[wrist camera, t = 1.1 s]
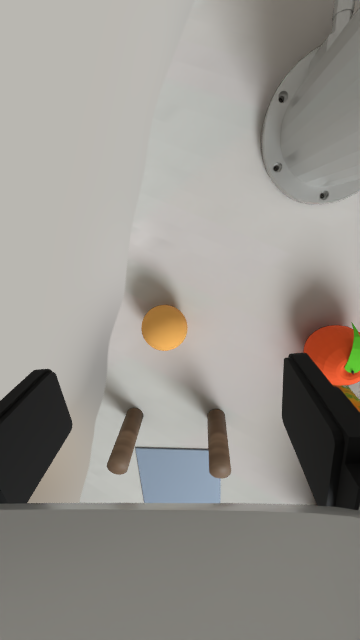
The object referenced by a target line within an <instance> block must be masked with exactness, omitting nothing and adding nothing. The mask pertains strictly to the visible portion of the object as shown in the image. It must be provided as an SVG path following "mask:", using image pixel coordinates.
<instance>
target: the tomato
mask: <svg viewBox="0 0 360 640" xmlns="http://www.w3.org/2000/svg"><path fill="white" fill-rule="evenodd" d="M351 323H352V322H351ZM352 326H353V329H351V328H349V327H346V326H340V325H333V326H326V327H323V328H320V329H319V330H317V331H315V332H314V333H313V334H312V335H310V337H309V338H308V339H307V341H306V343H305V346H304V353H307V354H308V355H309V357H310V358H311V359H312V360H313V362H314V363H315V364H316V365H317V366H318V368H319V369H320V370H321V371H322V373H323V374H324V375H325V376H326V378H327V379H328V380H329V381H330V383H331V384H332V385H337V386H342V385H351V384H355V383H357V382H359V381H360V332H358V331H357V329H356V328H355V326H354V325H353V323H352Z"/></svg>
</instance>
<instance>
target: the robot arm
mask: <svg viewBox="0 0 360 640" xmlns="http://www.w3.org/2000/svg"><path fill="white" fill-rule="evenodd" d="M354 3H355V0H335V2H334V10H333V18H332V20H333V25H332V33H331V34H330V35H329V36H328V37H327V39H326V40H325V42H324V43H323V44H322V46H321V47H319V48H317V49H315V50H313V51H312V52H310V53H309V54H308V55H306V56H305V57H304V58H303V59H301V60H300V61H299V62H298V63H297V64H296V65H295V66H294V67H293V68H292V69H291V71H290V72H289V73H288V74H287V75H286V77H285V78H284V80H283V81H282V83H281V84H280V86H279V87H278V89H277V90H276V92H275V94H274V96H273V98H272V100H271V102H270V105H269V107H268V110H267V113H266V115H265V120H264V124H263V129H262V142H261V146H262V155H263V161H264V164H265V167H266V171H267V173H268V175H269V177H270V178H271V180H272V182H273V183H274V184H275V186H276V187H277V188H278V189H279V190H280V191H281V192H282V193H284V194H285V195H286V196H288V197H289V198H291V199H293V200H296V201H298V202H301V203H306V204H327V203H333V202H337V201H340V200H343V199H346V198H348V197H350V196H352V195H354V194H356V193H358V192H359V191H360V8H359V9H358V10H357V12H356V13H355V14H354V16H353V17H352V13H353V10H354ZM351 17H352V18H351ZM279 98H282V99H283V103H280V102H279V101H278V99H279ZM274 166H277V167H278V170H277V171H274V170H273V168H274ZM321 193H322V194H323V197H322V198H320V194H321ZM282 419H283V423H284V426H285V428H286V430H287V433H288V435H289V438H290V440H291V443H292V445H293V447H294V450H295V452H296V455H297V457H298V459H299V462H300V464H301V467H302V469H303V472H304V474H305V476H306V479H307V481H308V484H309V486H310V488H311V491H312V493H313V496H314V498H315V501H316V503H317V505H318V506H314V505H293V504H249V503H31V504H30V503H27V502H28V500H29V499H30V497H31V495H32V494H33V492H34V491H35V489H36V487H37V486H38V484H39V482H40V481H41V479H42V477H43V476H44V474H45V473H46V471H47V469H48V467H49V466H50V464H51V463H52V461H53V459H54V458H55V456H56V454H57V453H58V451H59V450H60V448H61V446H62V445H63V443H64V441H65V439H66V438H67V436H68V435H69V433H70V431H71V429H72V420H71V417H70V414H69V411H68V409H67V406H66V403H65V400H64V397H63V394H62V391H61V388H60V385H59V382H58V380H57V376H56V374H55V373H54V372H52V371H51V370H50V369H41V370H34V371H33V372H31V373H30V374H29V375H28V376H27V377H26V378H25V379H24V380H23V381H22V382H21V383H20V384H18V385H17V386H16V387H15V388H14V389H13V390H12V391H11V392H10V393H8V394H7V395H6V396H5V397H4V398H3V399H2V400H1V401H0V640H360V412H359V411H358V410H357V408H356V407H355V406H354V405H353V404H352V402H351V401H350V400H349V399H348V398H347V396H346V395H345V394H344V393H343V392H342V390H341V389H339V388H338V387H336V386H333V385H332V384H331V383H330V381H329V380H328V379H327V378H326V376H325V375H324V374H323V373H322V371H321V370H320V369H319V368H318V366H317V365H316V364H315V363H314V362H313V360H312V359H311V358H310V357H309V355H308V354H307V353H294V354H290V355H289V358H285V359H284V372H283V398H282Z"/></svg>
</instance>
